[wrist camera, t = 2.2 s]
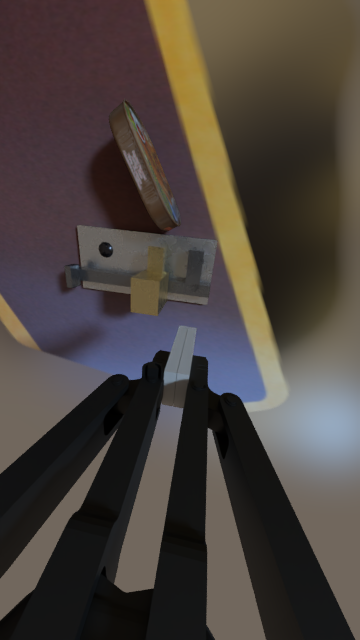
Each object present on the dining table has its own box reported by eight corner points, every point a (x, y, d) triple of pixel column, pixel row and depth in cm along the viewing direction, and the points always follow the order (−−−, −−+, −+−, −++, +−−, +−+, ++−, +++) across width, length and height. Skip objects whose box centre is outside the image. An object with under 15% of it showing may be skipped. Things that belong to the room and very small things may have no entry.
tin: (185, 225, 33) (177, 223, 26) (168, 234, 34) (155, 234, 27) (142, 118, 29) (118, 77, 21) (124, 131, 30) (94, 96, 22)
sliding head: (149, 244, 34) (130, 248, 26) (173, 246, 34) (161, 251, 25) (148, 294, 38) (130, 311, 29) (169, 297, 37) (157, 315, 29)
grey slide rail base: (78, 235, 35) (60, 236, 31) (215, 251, 33) (216, 254, 29) (82, 281, 39) (67, 287, 35) (207, 298, 37) (207, 307, 32)
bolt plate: (80, 225, 36) (76, 225, 35) (217, 240, 34) (217, 240, 33) (86, 286, 40) (83, 287, 39) (207, 303, 38) (206, 304, 37)
